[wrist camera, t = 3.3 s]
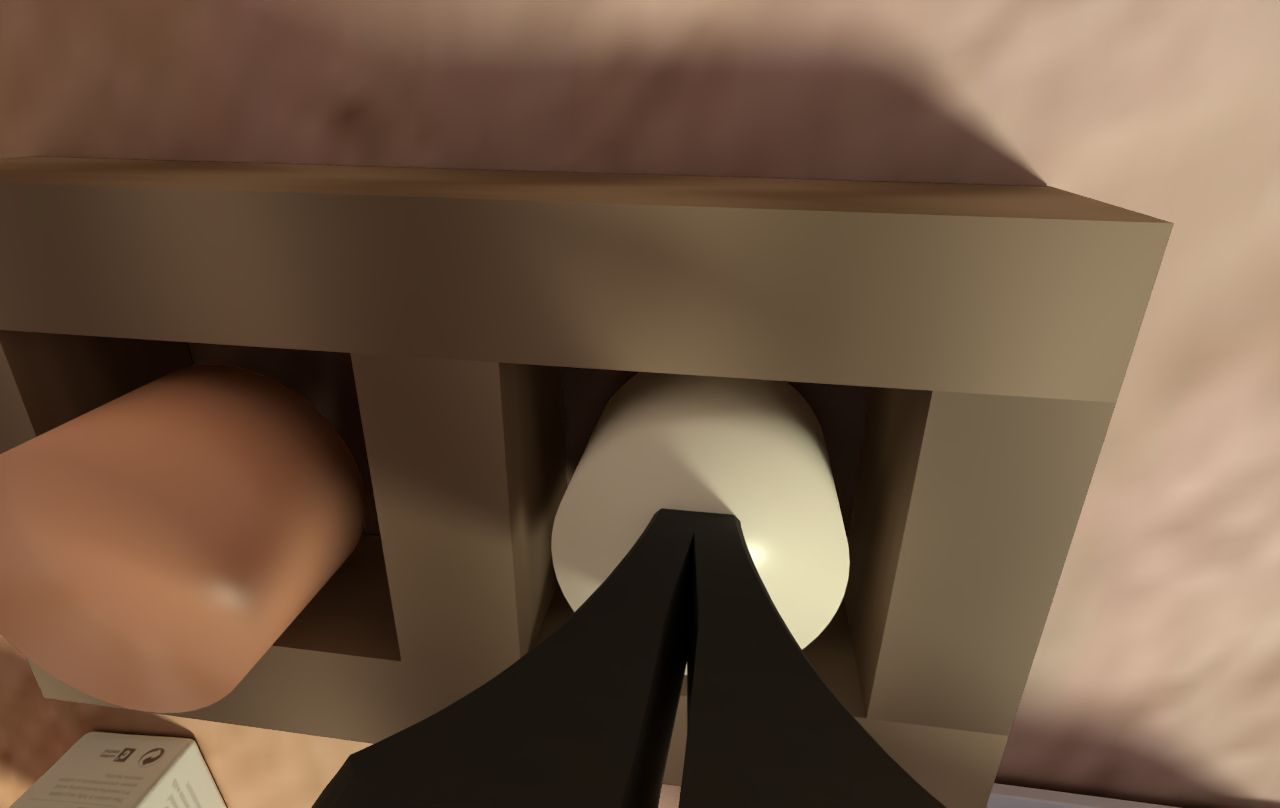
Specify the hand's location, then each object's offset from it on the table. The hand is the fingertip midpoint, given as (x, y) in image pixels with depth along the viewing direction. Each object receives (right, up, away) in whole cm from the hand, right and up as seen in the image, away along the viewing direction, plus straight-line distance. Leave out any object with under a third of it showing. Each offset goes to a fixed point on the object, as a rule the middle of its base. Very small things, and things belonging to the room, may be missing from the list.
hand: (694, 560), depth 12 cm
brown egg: (-9, +1, +2) cm, 9 cm away
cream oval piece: (+1, +1, +3) cm, 4 cm away
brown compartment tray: (-4, +2, +4) cm, 6 cm away
